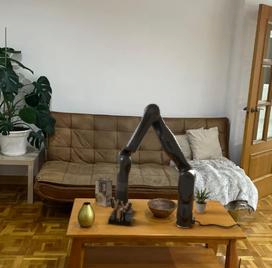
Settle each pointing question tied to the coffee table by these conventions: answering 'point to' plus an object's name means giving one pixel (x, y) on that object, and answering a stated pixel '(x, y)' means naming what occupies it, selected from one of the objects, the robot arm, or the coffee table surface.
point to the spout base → (121, 220)
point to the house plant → (201, 201)
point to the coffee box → (103, 192)
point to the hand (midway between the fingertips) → (120, 216)
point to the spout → (120, 213)
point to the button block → (127, 212)
